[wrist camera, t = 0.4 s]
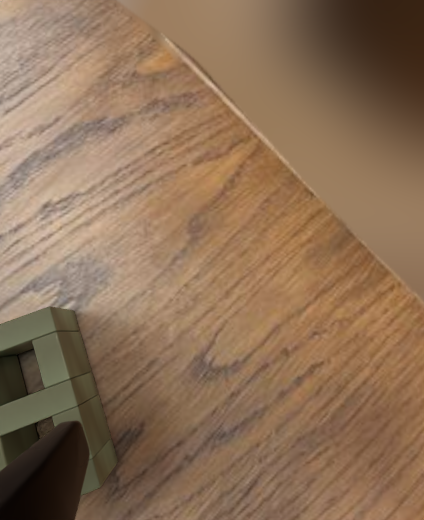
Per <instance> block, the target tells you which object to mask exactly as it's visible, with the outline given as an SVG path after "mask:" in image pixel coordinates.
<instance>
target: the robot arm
mask: <svg viewBox="0 0 424 520" xmlns="http://www.w3.org/2000/svg"><path fill="white" fill-rule="evenodd" d="M89 456H90V451H89V446H88V442H87V439H86V436H85V433H84V430H83V427H82V424H81V423H80V422H79V421H77V420H75V421H66V422H62V423H60V424H58V425H57V426H56V427H55V428H53V429H52V430H51V431H50V432H48V433H47V434H46V435H45V436H43V437H42V438H41V439H40V440H38V441H37V442H36V443H35V444H33V445H32V446H31V447H30V448H28V449H27V450H26V451H25V452H23V453H22V454H21V455H20V456H18V457H17V458H16V459H15V460H13V461H12V462H11V463H10V464H8V465H7V466H6V467H5V468H3V469H2V470H1V471H0V520H75V517H76V513H77V509H78V504H79V500H80V496H81V492H82V487H83V483H84V479H85V475H86V471H87V466H88V462H89Z"/></svg>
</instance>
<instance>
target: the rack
mask: <svg viewBox="0 0 424 520" xmlns="http://www.w3.org/2000/svg"><path fill="white" fill-rule="evenodd" d="M33 348H34V351H35V354H36V358H37V362H38V366H39V369H40V373H41V377H42V381H43V384H44V388H46V389H43V390H41V391H38V392H35V393H33V394H30V395H27V392H26V388H25V384H24V381H23V377H22V373H21V369H20V365H19V361H18V357H17V354H20V353H22V352H25V351H28V350H30V349H33ZM51 416H52V419H53V423H54V427H56V426H57V425H58V424H60V423H62V422H66V421H75V420H77V421H79V422H80V423H81V424H82V427H83V430H84V433H85V436H86V439H87V442H88V446H89V451H90V456H89V462H88V466H87V471H86V475H85V479H84V483H83V487H82V492H81V496H82V495H84V494H87V493H89V492H91V491H94V490H96V489H99V488H100V487H101V486H102V485H103V483H104V482H105V480H106V479H107V477H108V476H109V474H110V473H111V471H112V470H113V469H114V467H115V466H116V464H117V463H118V459H117V456H116V452H115V449H114V446H113V442H112V439H110V438H111V435H110V432H109V428H108V425H107V421H106V418H105V415H104V411H103V408H102V404H101V401H100V398H99V395H98V391H97V388H96V384H95V381H94V377H93V374H92V372H91V368H90V364H89V361H88V357H87V354H86V351H85V347H84V344H83V340H82V337H81V334H80V332H79V327H78V323H77V320H76V316H75V313H74V311H73V310H67V309H61V308H55V307H47V308H44V309H41V310H38V311H36V312H33V313H30V314H27V315H24V316H22V317H19V318H16V319H13V320H11V321H8V322H5V323H2V324H0V471H1V470H2V469H3V468H5V467H6V466H7V465H8V464H10V463H11V462H12V461H13V460H15V459H16V458H17V457H18V456H20V455H21V454H22V453H23V452H25V451H26V450H27V449H28V448H30V447H31V446H32V445H33V444H35V443H36V442H37V441H38V440H39V439H38V435H37V432H36V428H35V424H34V423H36V422H38V421H41V420H43V419H46V418H49V417H51Z"/></svg>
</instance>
